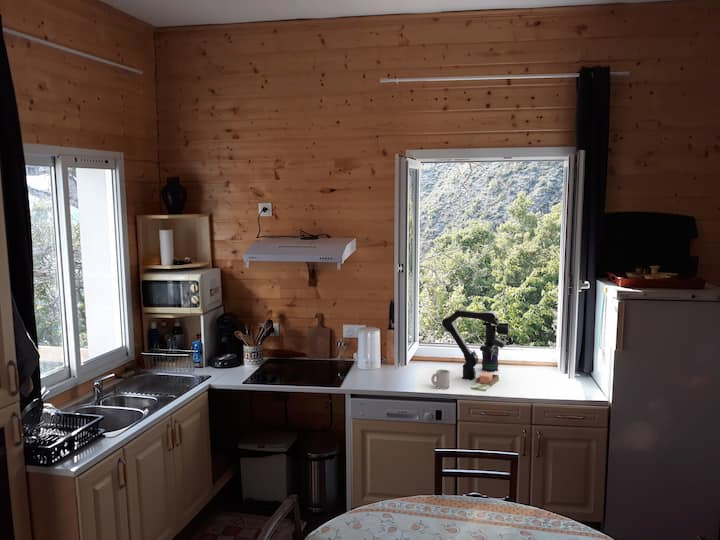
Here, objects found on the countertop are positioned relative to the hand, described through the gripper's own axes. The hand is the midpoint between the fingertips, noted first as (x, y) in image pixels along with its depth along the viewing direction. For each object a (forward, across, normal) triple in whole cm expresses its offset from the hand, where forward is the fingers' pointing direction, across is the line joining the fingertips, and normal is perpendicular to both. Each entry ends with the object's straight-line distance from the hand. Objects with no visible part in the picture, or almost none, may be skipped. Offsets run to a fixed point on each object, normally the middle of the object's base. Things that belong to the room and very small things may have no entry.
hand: (490, 360), depth 347 cm
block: (+11, -6, 0) cm, 13 cm away
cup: (+12, -25, +20) cm, 34 cm away
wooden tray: (+12, -9, 0) cm, 15 cm away
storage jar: (+12, +21, +7) cm, 25 cm away
